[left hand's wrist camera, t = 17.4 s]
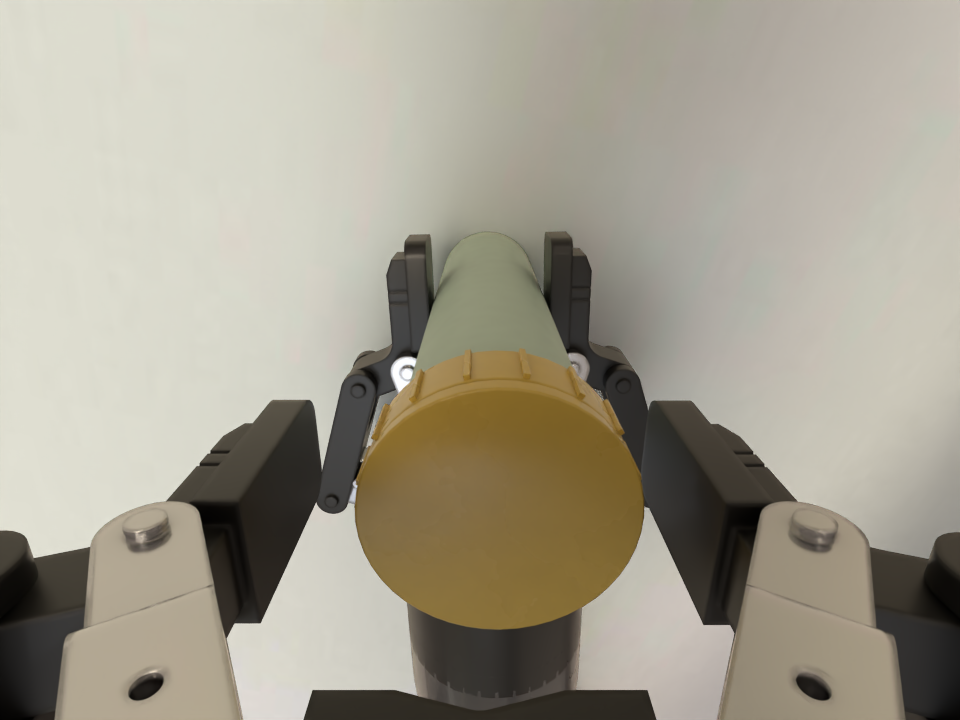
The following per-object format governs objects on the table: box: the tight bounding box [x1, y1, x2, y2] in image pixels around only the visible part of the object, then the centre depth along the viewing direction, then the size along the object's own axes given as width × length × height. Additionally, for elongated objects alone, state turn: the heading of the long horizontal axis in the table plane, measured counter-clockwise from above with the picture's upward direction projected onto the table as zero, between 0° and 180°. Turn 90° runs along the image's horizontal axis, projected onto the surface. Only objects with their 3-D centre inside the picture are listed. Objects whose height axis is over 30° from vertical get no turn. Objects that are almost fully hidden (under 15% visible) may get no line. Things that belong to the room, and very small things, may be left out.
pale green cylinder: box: [410, 232, 572, 382], centre depth 18 cm, size 4×4×17 cm
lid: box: [355, 348, 644, 630], centre depth 10 cm, size 5×5×2 cm
